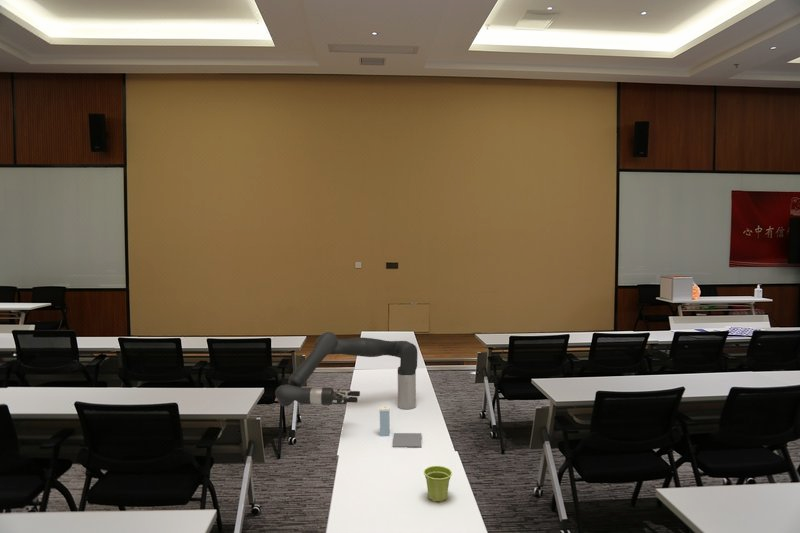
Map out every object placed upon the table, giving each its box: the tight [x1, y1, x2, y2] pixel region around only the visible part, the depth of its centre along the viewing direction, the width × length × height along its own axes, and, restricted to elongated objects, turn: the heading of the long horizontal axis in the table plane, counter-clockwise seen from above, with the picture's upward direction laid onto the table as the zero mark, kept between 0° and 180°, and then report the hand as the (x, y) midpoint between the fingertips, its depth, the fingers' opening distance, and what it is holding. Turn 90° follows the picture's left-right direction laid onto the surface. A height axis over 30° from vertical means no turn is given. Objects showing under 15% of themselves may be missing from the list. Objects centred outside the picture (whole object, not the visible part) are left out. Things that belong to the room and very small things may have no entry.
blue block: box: [379, 405, 391, 437], centre depth 224 cm, size 4×4×12 cm
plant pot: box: [423, 465, 453, 502], centre depth 170 cm, size 9×9×9 cm
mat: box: [392, 432, 423, 449], centre depth 218 cm, size 14×12×1 cm
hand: (358, 396), depth 224 cm, fingers open, 8 cm apart
